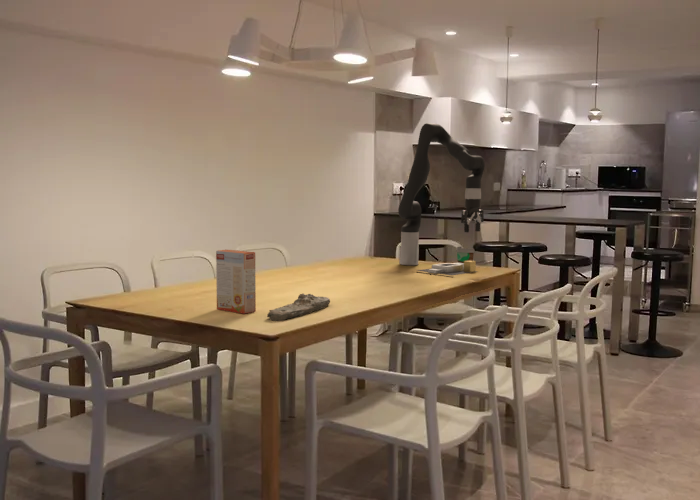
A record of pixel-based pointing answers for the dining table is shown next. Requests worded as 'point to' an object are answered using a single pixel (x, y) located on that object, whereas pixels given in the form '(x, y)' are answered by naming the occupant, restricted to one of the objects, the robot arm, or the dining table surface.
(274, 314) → the elongated rock
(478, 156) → the robot arm
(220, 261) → the cracker box
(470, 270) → the tan small block
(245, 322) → the dining table surface
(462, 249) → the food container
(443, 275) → the mat
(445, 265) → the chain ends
